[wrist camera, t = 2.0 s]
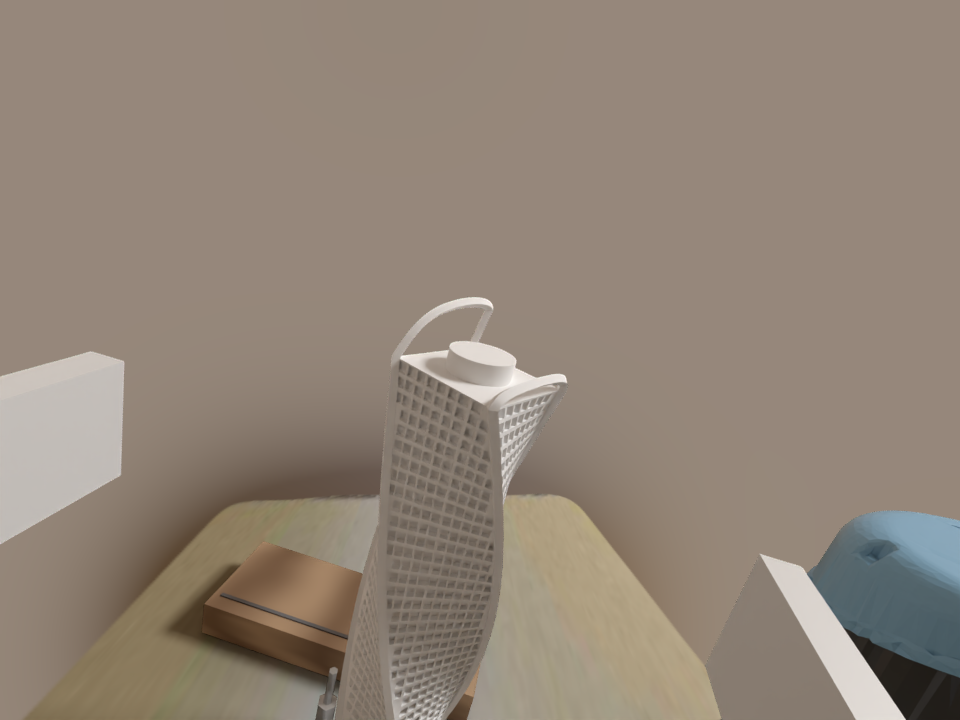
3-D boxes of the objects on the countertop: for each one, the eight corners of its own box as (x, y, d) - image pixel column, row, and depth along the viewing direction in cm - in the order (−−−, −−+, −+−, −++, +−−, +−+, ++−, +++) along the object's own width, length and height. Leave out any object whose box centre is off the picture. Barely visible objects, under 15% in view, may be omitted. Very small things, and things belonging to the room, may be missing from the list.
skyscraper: (312, 711, 32) (391, 274, 23) (439, 721, 33) (557, 310, 25) (272, 887, 24) (371, 321, 15) (441, 891, 25) (617, 370, 17)
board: (482, 640, 40) (490, 614, 39) (465, 724, 33) (474, 695, 32) (260, 566, 42) (263, 540, 41) (201, 632, 35) (204, 602, 34)
